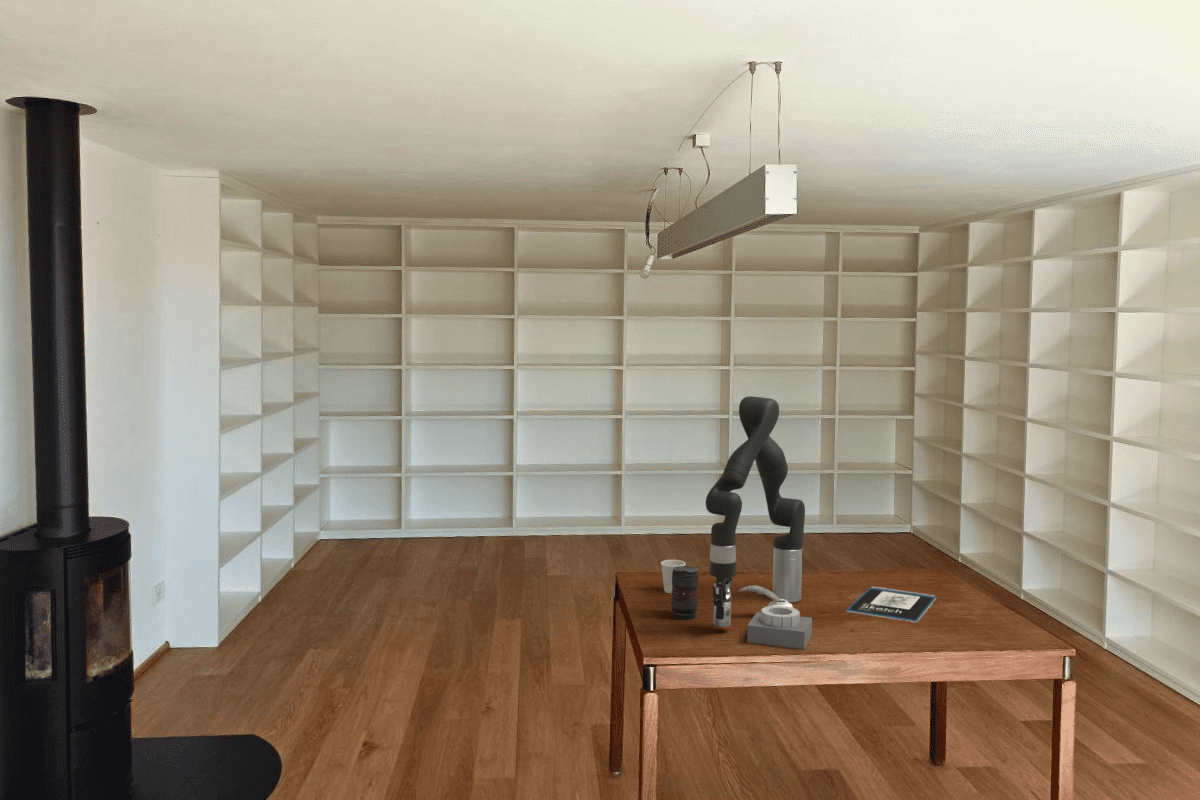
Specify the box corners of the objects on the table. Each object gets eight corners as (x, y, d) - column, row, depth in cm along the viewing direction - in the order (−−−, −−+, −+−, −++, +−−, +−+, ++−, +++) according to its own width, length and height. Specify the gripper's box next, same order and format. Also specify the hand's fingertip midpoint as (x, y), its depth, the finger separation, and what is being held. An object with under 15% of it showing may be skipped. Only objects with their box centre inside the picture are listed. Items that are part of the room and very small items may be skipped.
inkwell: (799, 621, 295) (800, 588, 295) (742, 623, 293) (742, 590, 292) (789, 612, 305) (790, 580, 304) (733, 614, 302) (734, 582, 301)
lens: (715, 620, 288) (716, 590, 287) (732, 622, 286) (732, 592, 285) (711, 625, 283) (712, 595, 283) (728, 627, 282) (728, 597, 281)
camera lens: (696, 621, 294) (697, 572, 293) (669, 619, 296) (670, 571, 295) (699, 613, 302) (699, 566, 301) (673, 611, 304) (673, 564, 302)
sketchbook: (846, 613, 306) (846, 607, 305) (871, 591, 332) (871, 585, 331) (916, 624, 295) (916, 617, 295) (936, 600, 321) (936, 594, 321)
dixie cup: (662, 587, 331) (662, 559, 330) (686, 589, 329) (687, 560, 329) (658, 594, 323) (659, 564, 322) (683, 596, 321) (684, 566, 320)
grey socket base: (756, 628, 288) (757, 601, 288) (811, 634, 283) (812, 607, 282) (747, 642, 275) (747, 614, 274) (804, 649, 270) (804, 621, 269)
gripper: (730, 566, 275) (729, 624, 277) (741, 554, 288) (740, 610, 290) (704, 563, 278) (703, 621, 279) (716, 552, 291) (715, 607, 293)
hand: (722, 615), depth 285 cm, fingers closed on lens, 5 cm apart
